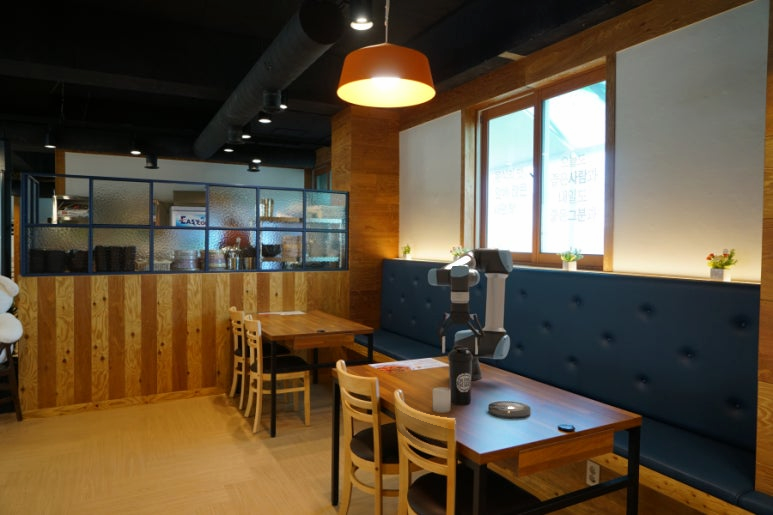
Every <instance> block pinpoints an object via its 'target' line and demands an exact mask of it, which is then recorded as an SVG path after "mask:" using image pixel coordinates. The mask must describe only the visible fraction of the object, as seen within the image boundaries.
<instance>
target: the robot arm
mask: <svg viewBox="0 0 773 515" xmlns="http://www.w3.org/2000/svg"><path fill="white" fill-rule="evenodd" d="M513 268H514V261H513V256H512V253H511V251H510V249H508V248H507V247H506V248H504V247H503V248H502V247H491V248H490V247H489V248H487V247H485V248H484V247H482V248H481V247H480V248H475V249H472V250H469V251H465V252H463V253H462V254H460V255H459V256H458V258H456V259H455V260H453V261H451V262H450V263H448V264H446V265H444V266H442V267H441V268H436V267H435V268H431V269H430V270H428V274H427V281H428V282H427V283H428V284H429V285H431V286H436V287H438V286H439V287H450V301H451V303H450V313H447V312H444V313H443V315H442V320H441V322H440V323H439V325H438V327H437V330H436V331H435V332H434V333H435V336H438V337H439V345H441V346H442V348H441V350H442V352H441V353H442V354H445V353H446V336H444V335H445V334H446V333H447V332H448V331H449V329H450V328H451V327H452V326H453V325H454V324H455V325H457V326H458V325H461V326H464V325H466V326H467V327H468V329H465V330H459V331H457V332H456V333H455V334H454V346H462V348H468V351H470V352H471V354H472V355H473V359H472V373H471V381H476V380H480V379H482V378H483V372H482V369H481V365H480V362H479V358H485V359H493V360H503V359H505V358H506V357H507V355H508V354H509V350H510V347H511V338H510V336H509V335H508V334H507V330H505V328H504V317H505V315H504V314H505V295H506V294H505V293H506V292H505V291H506V279H507V278H508V277H509V273H510V272H513ZM479 272H484V276H485V277H486V278H487V282H486V304H485V306H486V307H485V308H486V309H485V326H484V327H483V328H482V326H481V323H480V322H479V320H478V315H477V313H474V314H473V313H472V314H470V303H469V301H470V287H474V286H476V285H477V284H479V282H480V280H481V277H480V273H479ZM449 318H450V320H451V321H450V322H449V323H448V324H447V326H446V327H445V328H444V329H443V330H442V328H443V327H444V324H445V322H446V321H447V319H449ZM470 318H471V319H472V320H473V322H474V324H475V325H476V328H477V329H476V328H475V327H474V326H473V325H472V323H471V322H470V321H469V320H470ZM441 331H442V332H441Z"/></svg>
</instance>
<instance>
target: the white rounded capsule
mask: <svg viewBox="0 0 773 515" xmlns="http://www.w3.org/2000/svg"><path fill="white" fill-rule="evenodd" d="M451 406H452V403H451V390H450V387H449V388H448V387H440V386H439V387H434V388H433V389H432V411H434V412H436V413H443V414H444V413H449V412H451V410H452V409H451Z"/></svg>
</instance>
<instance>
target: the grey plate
mask: <svg viewBox="0 0 773 515" xmlns="http://www.w3.org/2000/svg"><path fill="white" fill-rule="evenodd" d="M487 409H488V410H487V411H488V413H489V414H490V415H491V416H494V417H497V418H501V419H511V420H519V419H520V420H521V419H526V418H528V417H530V416H531V411H532V410H531V407H530V405H528V404H526V403H524V402H520V401H514V400H513V401H512V400H511V401H509V400H502V401H501V400H500V401H494V402H490V403H489V404H488V408H487Z"/></svg>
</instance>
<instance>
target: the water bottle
mask: <svg viewBox="0 0 773 515" xmlns="http://www.w3.org/2000/svg"><path fill="white" fill-rule="evenodd" d="M447 359H448V372H449V389H450V390H451V405H457V406H467V405H468V406H469V405H470V404H471V402H472V380H471V373H472V359H473V355H472V354H471V352H470V351H468V348H462V346H455V345H453V346H452V350H450V351H449V353H448V354H447Z"/></svg>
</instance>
